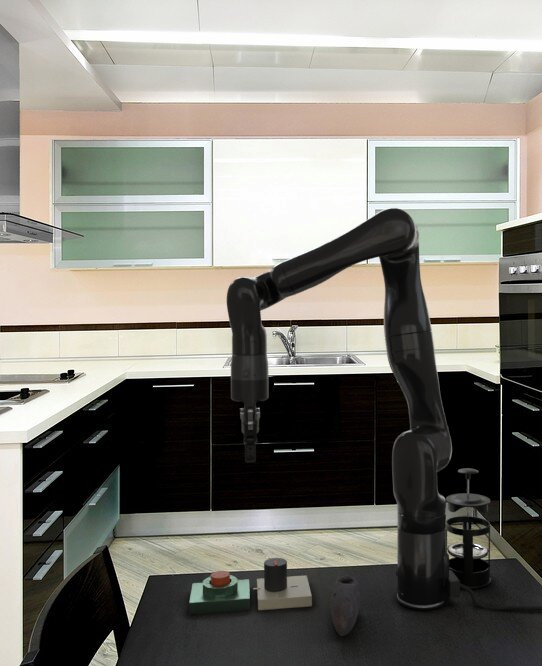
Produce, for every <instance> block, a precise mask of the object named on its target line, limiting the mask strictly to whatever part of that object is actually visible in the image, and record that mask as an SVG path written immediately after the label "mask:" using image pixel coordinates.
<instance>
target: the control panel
mask: <svg viewBox="0 0 542 666" xmlns="http://www.w3.org/2000/svg"><path fill="white" fill-rule="evenodd" d="M252 589H253V590H254V591H255V590H256V596H257V610H258V611H267V610H278V609H280V610H281V609H291V608H306V607H313V595H312V591H311V588H310V584H309V580H308V575H305V574H304V575H293V576H291V575H290V576H287V588H286V589H285V590H283V591H279V592H270V591H267V590H265V589H264V577H263V578H261V577H260V578H256V587H253V588H252Z"/></svg>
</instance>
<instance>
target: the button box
mask: <svg viewBox="0 0 542 666" xmlns="http://www.w3.org/2000/svg"><path fill="white" fill-rule="evenodd" d="M250 589H251V588H250V579H248V578H247V579H238V577H236V576H234V575H231V574H230V583H229V584H227V585H223V586H214V585H211V576H208V577H207V578H204V580H202V582H192V584H191V590H190V595H189V601H188V609H189V610H188V612H189V613H188V614H189V615H199V614H212V613H224V612H225V613H226V612H237V611H250V610H251V591H250Z"/></svg>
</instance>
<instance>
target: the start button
mask: <svg viewBox="0 0 542 666" xmlns="http://www.w3.org/2000/svg"><path fill="white" fill-rule="evenodd" d="M230 575H231V573H230V571H226V570H217V571H213V572H212V573H211V574H210V577H211V585H214V586H223V585H227V584H229V583H230Z"/></svg>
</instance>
